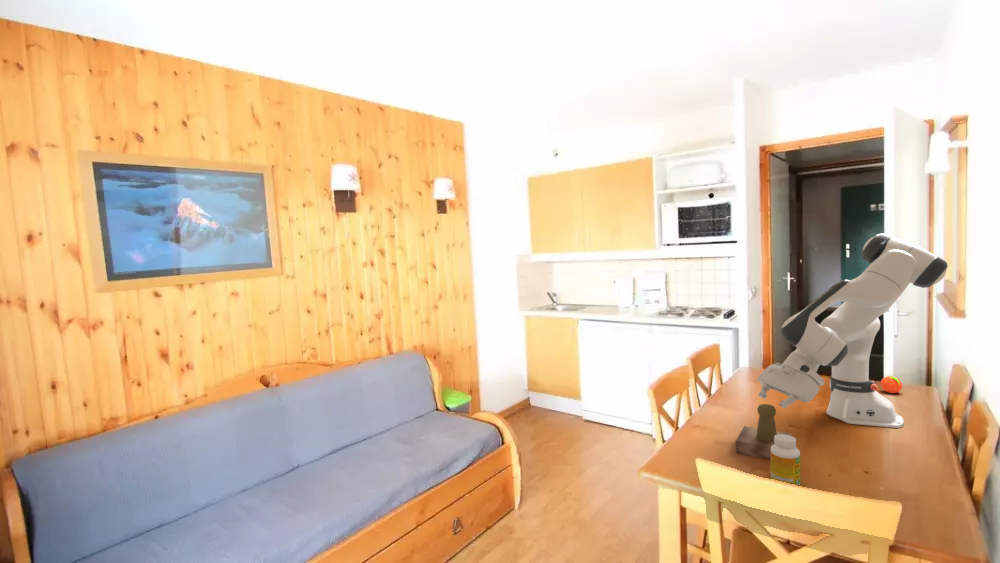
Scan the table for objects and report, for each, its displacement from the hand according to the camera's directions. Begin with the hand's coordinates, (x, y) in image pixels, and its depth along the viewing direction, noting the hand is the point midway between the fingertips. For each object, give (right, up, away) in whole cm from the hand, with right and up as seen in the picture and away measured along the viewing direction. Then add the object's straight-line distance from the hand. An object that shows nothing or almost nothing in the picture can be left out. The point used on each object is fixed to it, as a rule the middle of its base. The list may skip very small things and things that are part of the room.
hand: (771, 401), depth 156 cm
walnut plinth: (-3, -15, -1) cm, 15 cm away
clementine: (+75, -8, +44) cm, 88 cm away
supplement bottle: (-8, -17, -21) cm, 29 cm away
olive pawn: (-3, -12, -2) cm, 12 cm away
